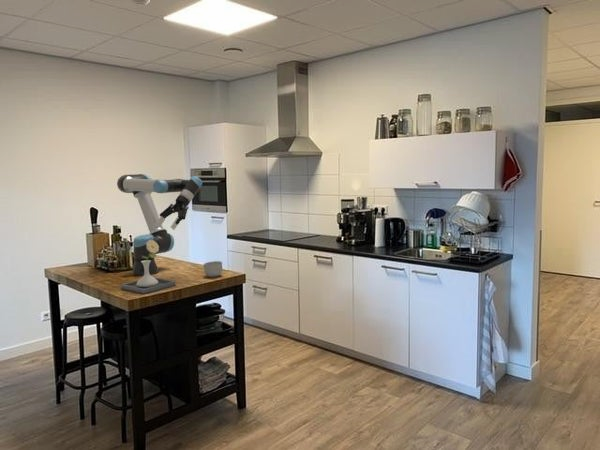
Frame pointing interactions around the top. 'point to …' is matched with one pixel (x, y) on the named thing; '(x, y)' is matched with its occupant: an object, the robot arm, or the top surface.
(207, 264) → the teacup
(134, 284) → the charcoal tray
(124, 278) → the top surface
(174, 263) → the top surface
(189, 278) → the top surface
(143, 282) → the flower in vase
